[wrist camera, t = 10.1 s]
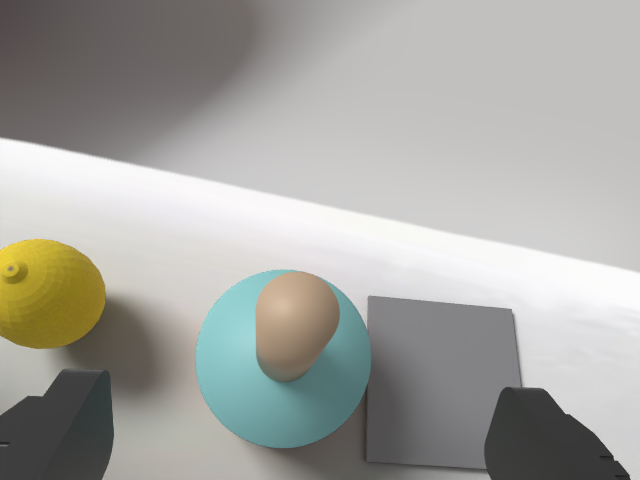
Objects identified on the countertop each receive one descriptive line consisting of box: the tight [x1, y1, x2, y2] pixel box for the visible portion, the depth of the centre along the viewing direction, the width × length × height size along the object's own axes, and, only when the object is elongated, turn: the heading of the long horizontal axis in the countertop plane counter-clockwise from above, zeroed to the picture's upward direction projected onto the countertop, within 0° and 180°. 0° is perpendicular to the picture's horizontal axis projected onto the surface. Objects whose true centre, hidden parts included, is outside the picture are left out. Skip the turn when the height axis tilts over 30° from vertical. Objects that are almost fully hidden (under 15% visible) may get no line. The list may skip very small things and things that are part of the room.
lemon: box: [0, 239, 106, 349], centre depth 24 cm, size 6×6×8 cm
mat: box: [366, 296, 521, 469], centre depth 29 cm, size 10×10×1 cm
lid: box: [195, 270, 371, 448], centre depth 20 cm, size 9×9×9 cm
